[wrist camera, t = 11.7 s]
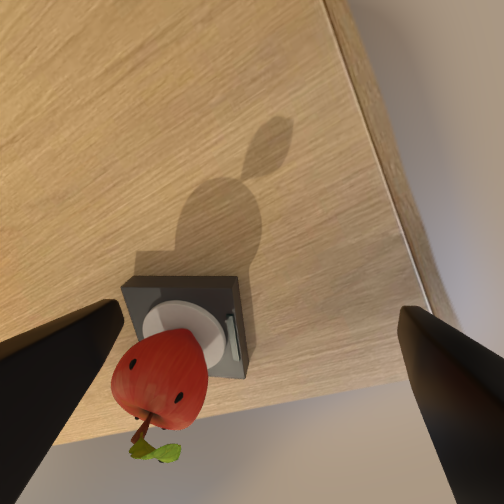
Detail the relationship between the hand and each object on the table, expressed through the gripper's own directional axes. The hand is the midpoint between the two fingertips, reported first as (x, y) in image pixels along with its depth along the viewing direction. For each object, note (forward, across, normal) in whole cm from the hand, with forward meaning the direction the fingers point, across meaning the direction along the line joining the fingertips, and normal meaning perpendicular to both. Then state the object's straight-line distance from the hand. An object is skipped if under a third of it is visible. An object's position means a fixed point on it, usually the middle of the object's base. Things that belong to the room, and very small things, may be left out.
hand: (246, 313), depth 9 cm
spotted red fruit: (+11, +9, +11) cm, 17 cm away
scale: (+13, +9, +11) cm, 19 cm away
